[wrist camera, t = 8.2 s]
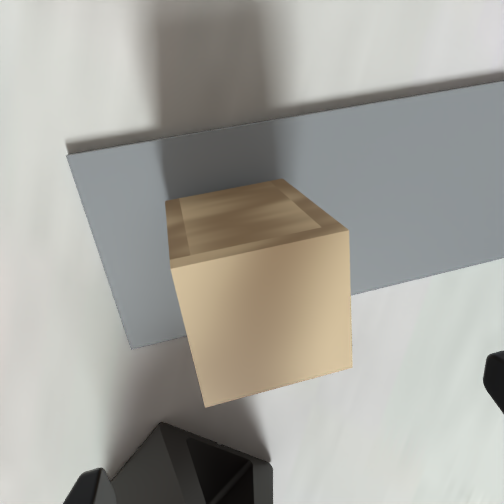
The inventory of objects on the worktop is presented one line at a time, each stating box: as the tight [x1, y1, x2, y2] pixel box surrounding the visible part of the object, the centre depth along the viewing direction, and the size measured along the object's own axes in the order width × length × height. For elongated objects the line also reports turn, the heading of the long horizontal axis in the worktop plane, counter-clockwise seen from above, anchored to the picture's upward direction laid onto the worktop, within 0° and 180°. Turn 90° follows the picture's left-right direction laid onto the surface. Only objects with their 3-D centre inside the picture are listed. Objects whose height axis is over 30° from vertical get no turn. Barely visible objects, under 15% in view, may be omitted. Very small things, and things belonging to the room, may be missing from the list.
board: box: [66, 80, 504, 350], centre depth 20 cm, size 24×10×1 cm, turn 98°
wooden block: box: [165, 179, 352, 408], centre depth 15 cm, size 5×5×7 cm
